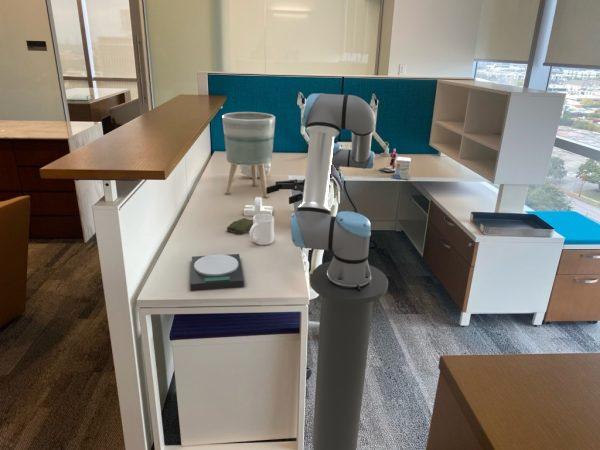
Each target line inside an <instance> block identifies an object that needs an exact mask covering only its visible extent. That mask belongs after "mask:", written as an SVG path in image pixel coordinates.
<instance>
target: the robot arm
mask: <svg viewBox="0 0 600 450" xmlns="http://www.w3.org/2000/svg"><path fill="white" fill-rule="evenodd" d="M304 103H305V104H304V108H303V111H302V126H303V128H305V132H306V134H308V136H309V140H308V148H307V157H306V158H307V159H306V166H305V176H304V179H303V180H302V181H298V179H291V180H290V179H289V180H278V181H275V184H272V185H270V186H267V187H266V194H268V195H269V194H273V193H276V192H279V191H280V190H293V191H295V192H296V191H298V192H299V193H297V194H294V195H291V196H289V197H288V204H289V205H291V204H295V203H298V202H301V201H302V202H301V203H300V204H299V205H298V206H297V207H296V211H295V212H292V213H291V216H290V237H291V241H292V244H293V245H294V246H295V247H296V248H302V249H306V250H308V249H311V250H319V251H320V250H321V251H331V252H333V256H332V259H331V264H330V266H329V268H328V271H327V279H328V281H329V282H330V283H331V284H333V285H335V286H337V287H340V288H345V289H358V291H360V290H361V289H360V288H363V287H366V286H367V285H369V284H370V282H371V272H370V268H369V265H370V264H369V260H368V258H369V251H370V250H369V248H370V239H371V238H370V237H371V235H372V233H371V232H372V231H371V226H372V225H371V222H370V219H368V218H367V217H366V216H364V215H363V214H360V213H358V212H354V211H349V210H344V211H343V210H342V211H339V212H337V213H336V215H334V216H333V215H332V209H330V207H329V206H328V202H329V192H330V188H329V184H330V174H331V165H332V164H333V165H334V167H335V168H336V170H337V171H338V173H339V176H340V179H341V184H342V183H343V182H344V180H345V179H344V178H345V175H344V173H343V171H342V170H341V169H340V167H341V168H353V169H363V170H366V169H367V170H368V169H370V170H371V169H373V168H374V163H375V152H374V151H372V150H371V147H372V137H373V132H374V131H375V128H376V125H377V123H376V121H377V120H376V118H377V117H376V114H375V112H374V110H373V108H372V107H371V106H370V104H369V103H368V102H366V101H365V100H364V99H363V98H361V97H360V96H357V95H352V94H336V93H335V94H334V93H324V92H320V93H310V94H309V95H308V97H307V98H306V101H305V102H304ZM341 130H344V131H345V130H349V131H350V132H351V149H345V148H342V146H341V144H340V143H336V142H335V138H337V137H338V136H340V131H341Z"/></svg>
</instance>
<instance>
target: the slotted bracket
mask: <svg viewBox="0 0 600 450" xmlns="http://www.w3.org/2000/svg"><path fill="white" fill-rule="evenodd" d="M273 209H274V208H273V206H272V205H263V197H261V196H260V197H259V196H255V198H254V205H253V204H252V205H251V204H246V205H244V208H243V216H248V217H249V216H250V217H254V216H255V215H258V214H269V215H272V216H273V213H274V212H273V211H274V210H273Z"/></svg>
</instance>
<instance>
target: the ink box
mask: <svg viewBox="0 0 600 450" xmlns="http://www.w3.org/2000/svg"><path fill="white" fill-rule="evenodd" d="M411 161H412V158H411V157H404V156H397V158H396V166H395V171H394V177H393V178H394V179H401V180H409V176H410V168H411Z"/></svg>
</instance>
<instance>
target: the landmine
mask: <svg viewBox="0 0 600 450" xmlns="http://www.w3.org/2000/svg"><path fill="white" fill-rule="evenodd" d="M252 226H253V219H248V218H246V217H242V218H239V219H238V220H235V221H232V223H230V224H229V225H228V226H227V227H226V229H227V230H226V231H227V232H228V233H235V234H236V235H243V234H247V235H249V233H250V229H251V227H252Z"/></svg>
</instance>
